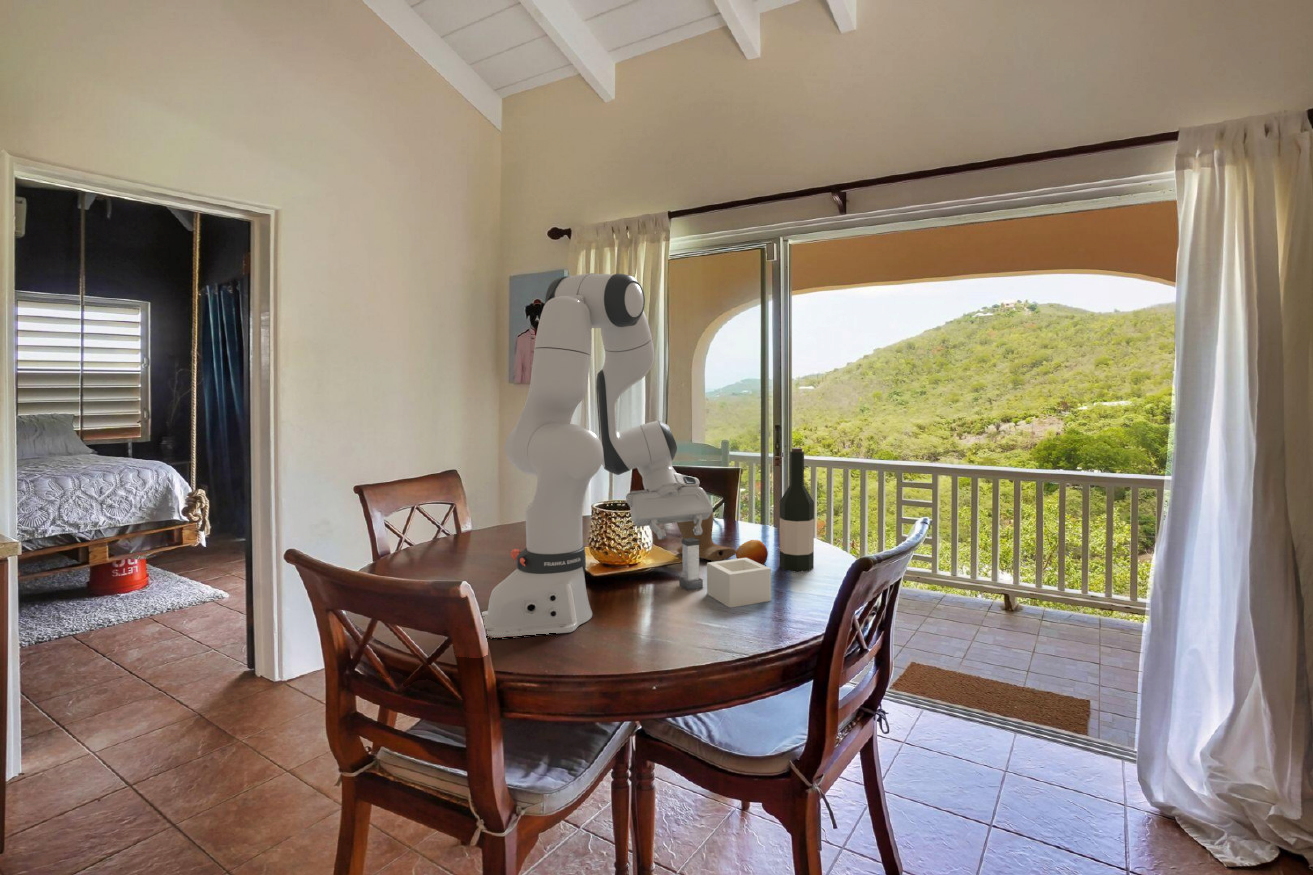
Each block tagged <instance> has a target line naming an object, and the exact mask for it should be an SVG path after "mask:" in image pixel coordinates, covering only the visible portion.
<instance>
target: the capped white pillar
mask: <svg viewBox="0 0 1313 875" xmlns="http://www.w3.org/2000/svg"><path fill="white" fill-rule="evenodd" d="M681 544H682V545H681V546H682V554H681V555H682V576H679V577H678V578H679V579H678V584H679V585H678V586H679V587H681V589H683V590H684V591H687V592H689V591H695V590H702V589H703V588H704V584H703V582H704V580H703V579H702V578H700V558H699V540H697V539H695V538H686V539H683V538H681Z"/></svg>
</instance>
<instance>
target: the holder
mask: <svg viewBox="0 0 1313 875" xmlns="http://www.w3.org/2000/svg"><path fill="white" fill-rule="evenodd" d="M706 594H707V595H709V596H710V597H711V598H713V599H714V600H716V601H718V602H719V603H722V604H723V605H725V606H726V607H728V608H737V607H741V606H747V605H754V604H759V603H760V604H761V603H766V602H771V601H772V600H771V599H772V568H771V567H768V566H767V565H766V566H765V565H762V564H760V563H757V562H755V561H753V560H751V559H748V558H739V559H737V558H732V559H725V560H722V561H711V562H707V563H706Z"/></svg>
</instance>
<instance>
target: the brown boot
mask: <svg viewBox="0 0 1313 875" xmlns="http://www.w3.org/2000/svg"><path fill="white" fill-rule="evenodd" d="M676 525H677V528H678V529H679V531H680V534H681V538H682V539H686V538H695V539H697V540H699V559H702V560H708V561H711V562H716V561H724V560H729V559H730V558H732V557H733V556H734V555H735V556H736V551H737V549H735V548H732V547H728V546H724V545H723V546H722V545H719V544H716V543H714V542H713V525H714V512H713V510H712V513H711V515H710V516H709V518H708V519H705V520H702V523H701V527H702V530H703V532H702V534H701V535H695V533H694V531H693V529H694V527H695V526H697V523H696V524H695V523H694V521H686V522H677V523H676ZM676 551H677V553H678V554H681V555H682V545H681V546H679V547H678V548H677V549H676Z"/></svg>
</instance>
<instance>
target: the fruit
mask: <svg viewBox="0 0 1313 875" xmlns="http://www.w3.org/2000/svg"><path fill="white" fill-rule="evenodd" d="M768 552H769V551H768V549H767V547H766V545H765V544H764V542H762V541H761V540H759V539H750V540H748V541H746V542H744V543H742V544H741V545H739V546H738V548H737V549H736V554H735V557H736V558H735V559H739V558H748V559H751V560H753V561H755V562H757V563H760V564H762V565H764V566H766V567H767V565H766V562H767V559H768V554H769V553H768Z"/></svg>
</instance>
